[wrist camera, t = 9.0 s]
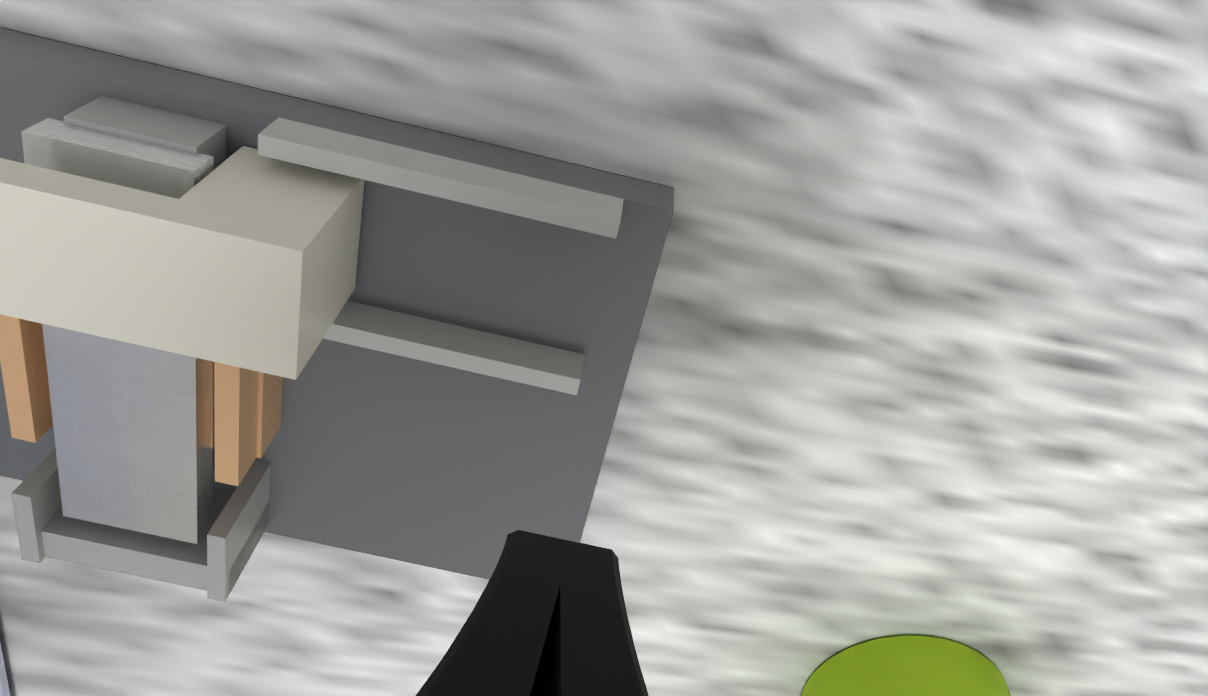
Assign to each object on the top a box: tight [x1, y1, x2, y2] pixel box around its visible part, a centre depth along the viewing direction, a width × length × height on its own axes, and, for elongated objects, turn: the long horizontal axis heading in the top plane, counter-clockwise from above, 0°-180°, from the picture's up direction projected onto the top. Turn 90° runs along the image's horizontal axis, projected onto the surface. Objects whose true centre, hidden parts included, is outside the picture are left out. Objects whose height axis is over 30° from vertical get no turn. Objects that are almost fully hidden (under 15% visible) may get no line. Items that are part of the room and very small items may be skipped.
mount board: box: [0, 28, 674, 601], centre depth 20 cm, size 11×18×4 cm, turn 77°
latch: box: [0, 146, 365, 380], centre depth 17 cm, size 3×5×4 cm, turn 77°
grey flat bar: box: [21, 118, 214, 544], centre depth 19 cm, size 9×3×1 cm, turn 168°
